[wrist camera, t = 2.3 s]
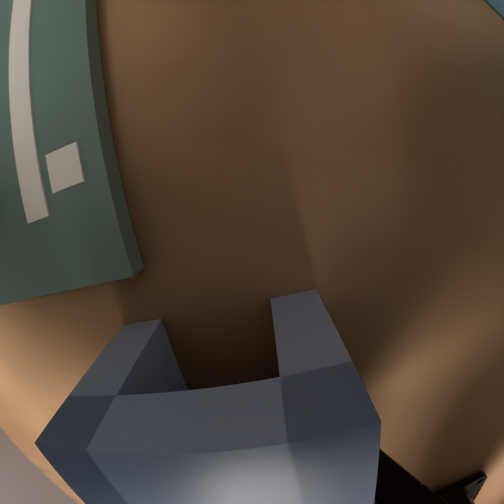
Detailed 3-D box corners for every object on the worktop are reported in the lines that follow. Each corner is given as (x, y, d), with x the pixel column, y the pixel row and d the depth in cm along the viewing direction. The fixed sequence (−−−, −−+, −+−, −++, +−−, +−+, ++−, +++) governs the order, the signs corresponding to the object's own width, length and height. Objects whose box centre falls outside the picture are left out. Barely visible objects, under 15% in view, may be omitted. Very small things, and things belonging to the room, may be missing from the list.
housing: (338, 482, 10) (360, 579, 5) (211, 498, 11) (201, 593, 6) (315, 287, 8) (381, 420, 3) (124, 323, 9) (34, 443, 4)
